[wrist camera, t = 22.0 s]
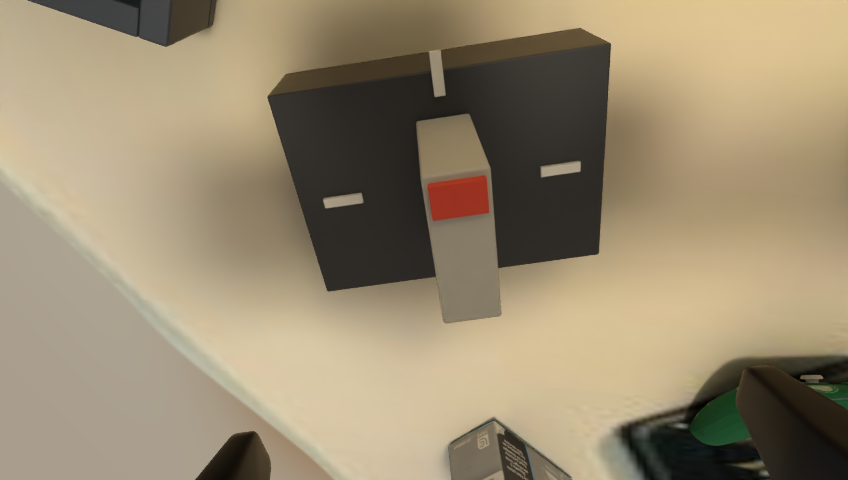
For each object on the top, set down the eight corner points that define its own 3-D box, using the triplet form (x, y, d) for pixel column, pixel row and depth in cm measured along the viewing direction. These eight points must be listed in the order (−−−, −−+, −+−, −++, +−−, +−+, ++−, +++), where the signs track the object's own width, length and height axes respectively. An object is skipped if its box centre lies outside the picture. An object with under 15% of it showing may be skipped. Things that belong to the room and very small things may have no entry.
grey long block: (481, 239, 19) (503, 322, 15) (434, 246, 19) (444, 330, 15) (469, 112, 16) (492, 170, 12) (415, 120, 16) (420, 181, 12)
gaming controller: (822, 372, 31) (918, 374, 25) (836, 437, 30) (939, 455, 24) (677, 377, 30) (740, 380, 25) (687, 442, 29) (754, 462, 24)
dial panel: (582, 9, 18) (614, 23, 15) (575, 229, 22) (600, 269, 20) (280, 57, 18) (259, 78, 15) (338, 262, 23) (330, 306, 20)
